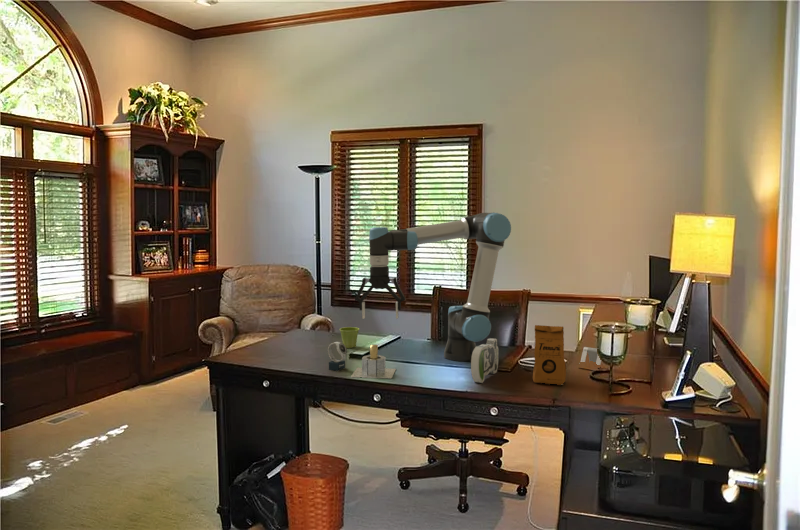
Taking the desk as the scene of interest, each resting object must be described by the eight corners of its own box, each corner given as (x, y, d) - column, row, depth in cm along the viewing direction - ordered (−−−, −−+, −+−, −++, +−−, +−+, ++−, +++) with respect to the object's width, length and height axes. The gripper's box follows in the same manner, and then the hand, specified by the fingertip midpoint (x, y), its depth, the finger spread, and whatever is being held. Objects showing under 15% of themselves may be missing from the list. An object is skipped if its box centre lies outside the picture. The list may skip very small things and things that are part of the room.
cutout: (492, 337, 256) (471, 344, 233) (499, 337, 255) (478, 344, 232) (491, 374, 256) (470, 384, 234) (497, 374, 255) (477, 385, 233)
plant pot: (358, 349, 294) (358, 330, 293) (338, 349, 294) (338, 330, 293) (360, 344, 303) (360, 327, 302) (340, 344, 303) (340, 326, 303)
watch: (341, 371, 253) (341, 344, 252) (325, 369, 257) (325, 342, 256) (349, 368, 258) (349, 342, 257) (332, 366, 262) (332, 340, 261)
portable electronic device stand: (577, 368, 260) (578, 348, 259) (586, 365, 265) (586, 345, 265) (597, 372, 254) (597, 352, 253) (605, 368, 260) (606, 349, 259)
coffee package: (564, 388, 231) (566, 329, 229) (530, 384, 236) (532, 326, 234) (567, 381, 241) (568, 324, 239) (534, 378, 245) (535, 322, 243)
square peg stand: (395, 369, 257) (396, 342, 256) (391, 378, 243) (391, 349, 242) (357, 368, 259) (357, 341, 258) (350, 377, 245) (350, 348, 244)
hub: (386, 369, 255) (386, 355, 254) (383, 375, 246) (383, 360, 245) (364, 369, 256) (364, 354, 255) (360, 375, 247) (360, 360, 246)
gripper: (346, 267, 249) (348, 319, 251) (409, 266, 247) (410, 319, 249) (350, 265, 257) (351, 316, 259) (411, 264, 254) (411, 316, 256)
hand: (380, 318), depth 254 cm, fingers open, 13 cm apart
